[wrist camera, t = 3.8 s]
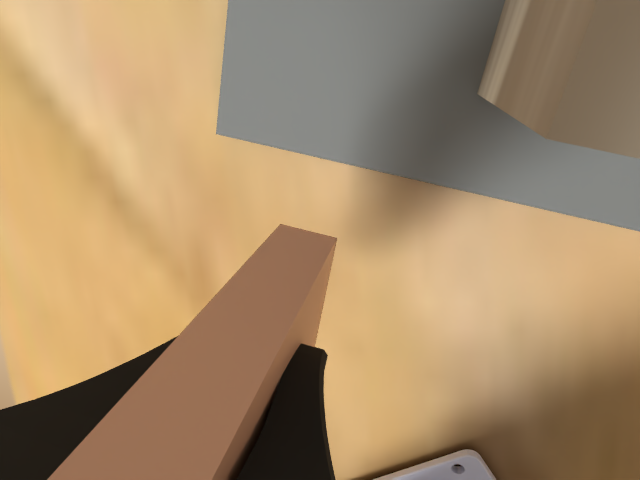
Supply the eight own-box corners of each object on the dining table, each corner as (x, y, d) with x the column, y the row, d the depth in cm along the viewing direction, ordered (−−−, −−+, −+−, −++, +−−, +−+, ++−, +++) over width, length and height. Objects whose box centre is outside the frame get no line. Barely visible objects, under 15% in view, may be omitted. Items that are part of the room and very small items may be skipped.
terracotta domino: (337, 238, 13) (161, 574, 4) (306, 384, 14) (146, 810, 6) (280, 223, 13) (10, 519, 5) (258, 369, 15) (41, 762, 6)
